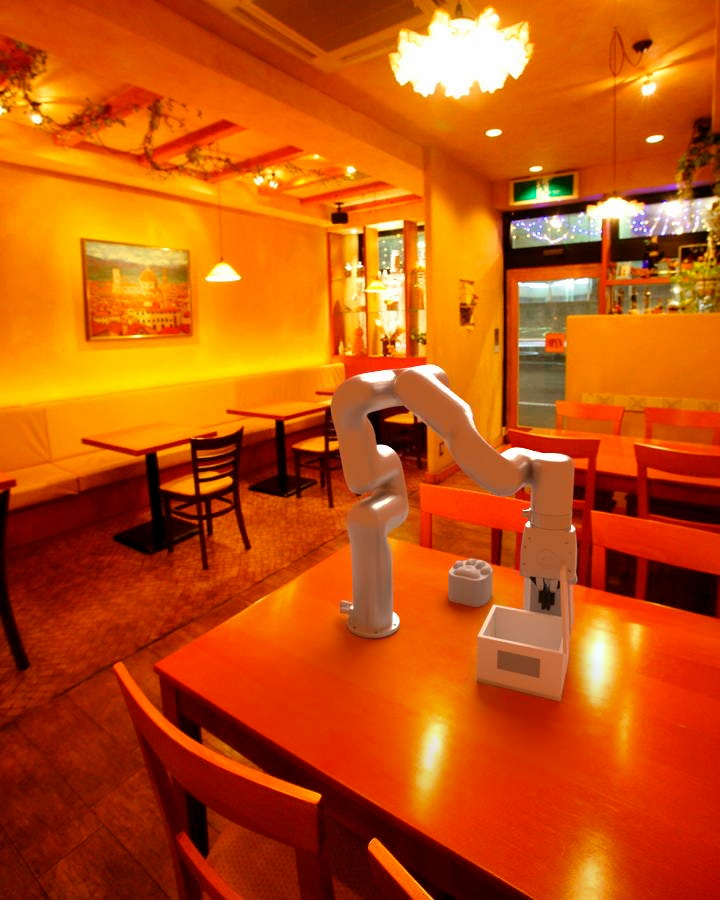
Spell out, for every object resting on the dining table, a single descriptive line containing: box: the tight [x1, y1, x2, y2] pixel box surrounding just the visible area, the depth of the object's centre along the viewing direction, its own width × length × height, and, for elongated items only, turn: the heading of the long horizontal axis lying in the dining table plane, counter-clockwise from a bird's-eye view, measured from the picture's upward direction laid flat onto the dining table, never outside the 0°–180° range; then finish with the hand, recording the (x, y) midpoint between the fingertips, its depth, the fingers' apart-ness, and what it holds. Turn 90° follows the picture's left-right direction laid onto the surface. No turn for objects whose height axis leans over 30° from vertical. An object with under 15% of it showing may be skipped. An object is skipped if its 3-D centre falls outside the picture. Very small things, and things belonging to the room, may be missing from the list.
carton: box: [476, 604, 570, 702], centre depth 116 cm, size 16×14×10 cm
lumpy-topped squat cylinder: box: [447, 558, 494, 608], centre depth 150 cm, size 10×13×9 cm
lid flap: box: [560, 563, 575, 654], centre depth 110 cm, size 16×14×1 cm
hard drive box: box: [522, 577, 562, 617], centre depth 131 cm, size 16×8×20 cm, turn 168°
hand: (546, 606), depth 113 cm, fingers closed
